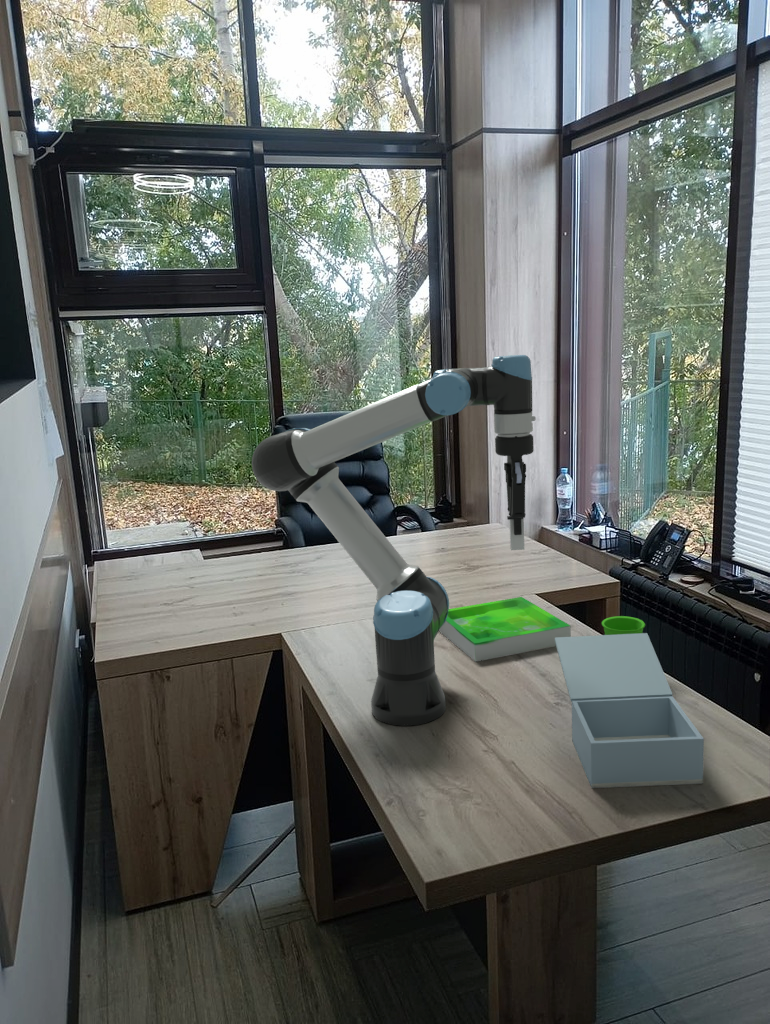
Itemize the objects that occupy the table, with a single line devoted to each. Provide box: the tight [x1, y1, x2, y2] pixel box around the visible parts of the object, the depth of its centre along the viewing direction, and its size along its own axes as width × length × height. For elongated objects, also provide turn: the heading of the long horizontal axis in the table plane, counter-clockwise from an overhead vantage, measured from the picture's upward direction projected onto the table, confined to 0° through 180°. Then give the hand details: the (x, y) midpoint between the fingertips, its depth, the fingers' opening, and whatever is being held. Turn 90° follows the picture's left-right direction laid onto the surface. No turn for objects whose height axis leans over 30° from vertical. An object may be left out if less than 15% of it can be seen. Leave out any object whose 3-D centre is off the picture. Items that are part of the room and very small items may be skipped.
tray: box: [438, 596, 572, 662], centre depth 202 cm, size 25×25×5 cm
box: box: [571, 695, 705, 789], centre depth 139 cm, size 18×16×8 cm
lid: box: [555, 632, 673, 703], centre depth 154 cm, size 18×17×1 cm
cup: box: [601, 615, 646, 635], centre depth 176 cm, size 9×9×11 cm
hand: (517, 548), depth 166 cm, fingers closed
